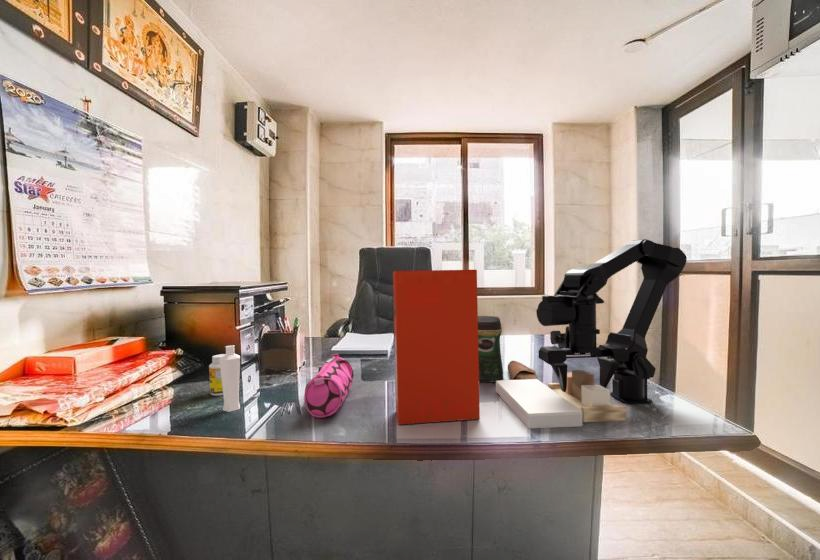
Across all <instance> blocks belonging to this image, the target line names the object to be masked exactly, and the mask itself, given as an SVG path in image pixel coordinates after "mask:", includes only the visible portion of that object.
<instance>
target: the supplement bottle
mask: <svg viewBox="0 0 820 560" xmlns="http://www.w3.org/2000/svg"><path fill="white" fill-rule="evenodd" d="M225 355H226V353H220V354H216V355H212V357H211V359H212V360H211V363H210V364H209V365H208V371H209V372H208V373H209V377H208V378H209V393H210V395H211V396H215V397H219V396H223V387H222V379H221V370H220V361H219V359H220V358H221V357H223V356H225Z"/></svg>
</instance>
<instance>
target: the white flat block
mask: <svg viewBox="0 0 820 560" xmlns="http://www.w3.org/2000/svg"><path fill="white" fill-rule="evenodd" d="M495 393H496V394H497V393H498V394H499V395H500V396H499V395H498V394H497V395H498V396H499V398H501V399H502V400H503V401H504V403H505V402H506V403H507V404H508V405H507V404H506V403H505V404H506V405H507V406H508V407H509V408H510V409H511V410H512V412H513V413H514V414H515V415H516V416H517V417H518V418H519V420H520V421H521V422H522V423H523V424H524V425H525V426H526V427H527V428H528V429H529V430H530V429H550V428H569V427H570V428H574V427H583V421H582V411H581V410H579V409H578V408H577V407H575V406H574V405H573V404H571V403H570V402H568V401H567V400H566V399H564V398H563V397H561V396H560V395H559V394H557V393H556V392H554V391H553V390H552V389H550V388H549V387H548V385H546V384H544V382H541V380H539V378H538V379H526V380H510V379H506V380H505V379H504V380H503V379H502V380H498V381H496V382H495Z"/></svg>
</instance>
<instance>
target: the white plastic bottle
mask: <svg viewBox="0 0 820 560" xmlns="http://www.w3.org/2000/svg"><path fill="white" fill-rule="evenodd" d="M235 346H236V345H234V344H232V345H231V344H230V345H226V346H224V348H225V354H226V355H225V356H223V357H221V358H220V359H219V361H220V370H221V379H222V387H223V395H222V396H223V407H222V411H224V412H228V413H229V412H230V413H231V412H234V411H237V410H240V409H241V404H240V401H239V398H240V397H239V396H240V394H239V393H240V370H241V355H239V354H237V353H235Z"/></svg>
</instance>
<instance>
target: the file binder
mask: <svg viewBox="0 0 820 560" xmlns="http://www.w3.org/2000/svg"><path fill="white" fill-rule="evenodd" d="M392 283H393V284H392V288H393V289H392V291H393V337H394V338H393V340H394V341H393V342H394V379H395V380H394V381H395V382H394V385H395V388H394V389H395V390H394V391H395V394H394V395H395V414H396V419H397V424H398V425H411V424H427V423H441V421H442V422H453V421H454V422H456V420H457V421H465V420H466V421H468V420H469V421H470V419H471V420H479V419H481V418H480V416H481V415H480V381H479V357H478V316H479V313H478V310H479V309H478V270H477V269H443V270H442V269H440V270H438V269H436V270H435V269H433V270H430V269H429V270H426V269H425V270H394V271H393V272H392Z"/></svg>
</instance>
